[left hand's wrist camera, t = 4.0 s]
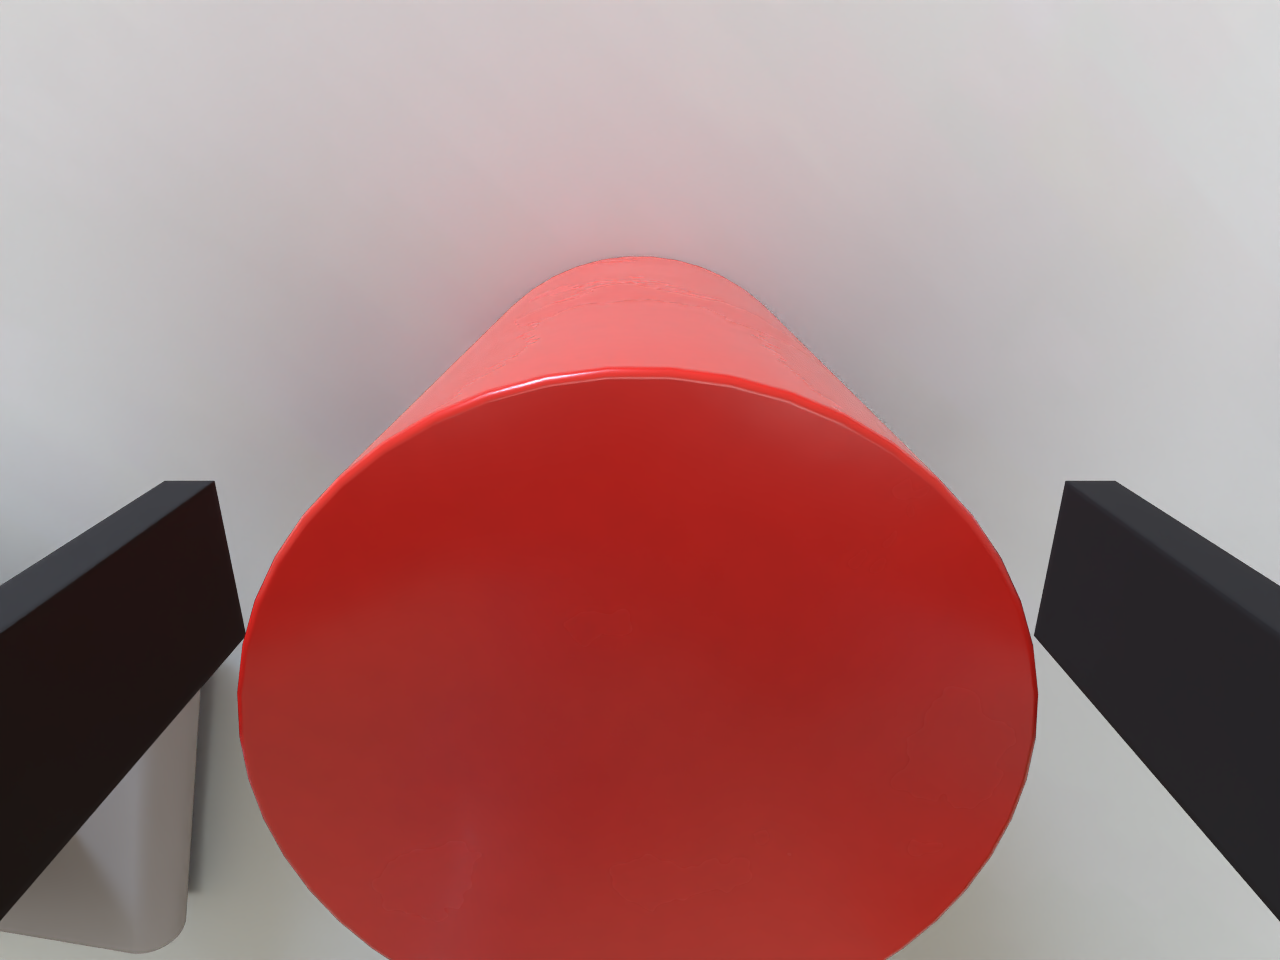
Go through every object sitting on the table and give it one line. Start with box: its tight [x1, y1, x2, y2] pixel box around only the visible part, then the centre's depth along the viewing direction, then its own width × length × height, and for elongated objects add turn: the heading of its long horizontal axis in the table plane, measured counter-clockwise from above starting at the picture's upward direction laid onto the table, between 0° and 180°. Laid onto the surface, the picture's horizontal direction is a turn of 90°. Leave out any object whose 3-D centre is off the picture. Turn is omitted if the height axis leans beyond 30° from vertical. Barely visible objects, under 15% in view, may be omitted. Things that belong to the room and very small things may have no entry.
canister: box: [237, 257, 1038, 960], centre depth 14 cm, size 8×8×11 cm
